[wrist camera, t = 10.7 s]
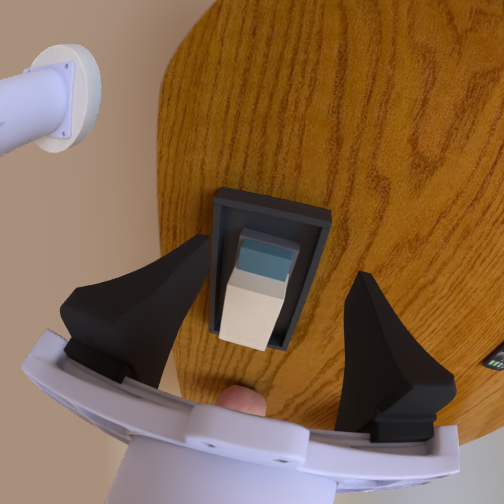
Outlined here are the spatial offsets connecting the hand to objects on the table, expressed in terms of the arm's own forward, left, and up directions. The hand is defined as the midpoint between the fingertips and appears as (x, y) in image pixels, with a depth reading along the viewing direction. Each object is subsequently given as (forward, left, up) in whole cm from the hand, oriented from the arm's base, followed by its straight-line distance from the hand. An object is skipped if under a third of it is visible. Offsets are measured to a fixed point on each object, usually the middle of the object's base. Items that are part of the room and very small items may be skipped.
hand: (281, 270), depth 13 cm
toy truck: (0, -9, -9) cm, 13 cm away
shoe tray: (0, -9, -9) cm, 13 cm away
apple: (+3, -32, -10) cm, 34 cm away
